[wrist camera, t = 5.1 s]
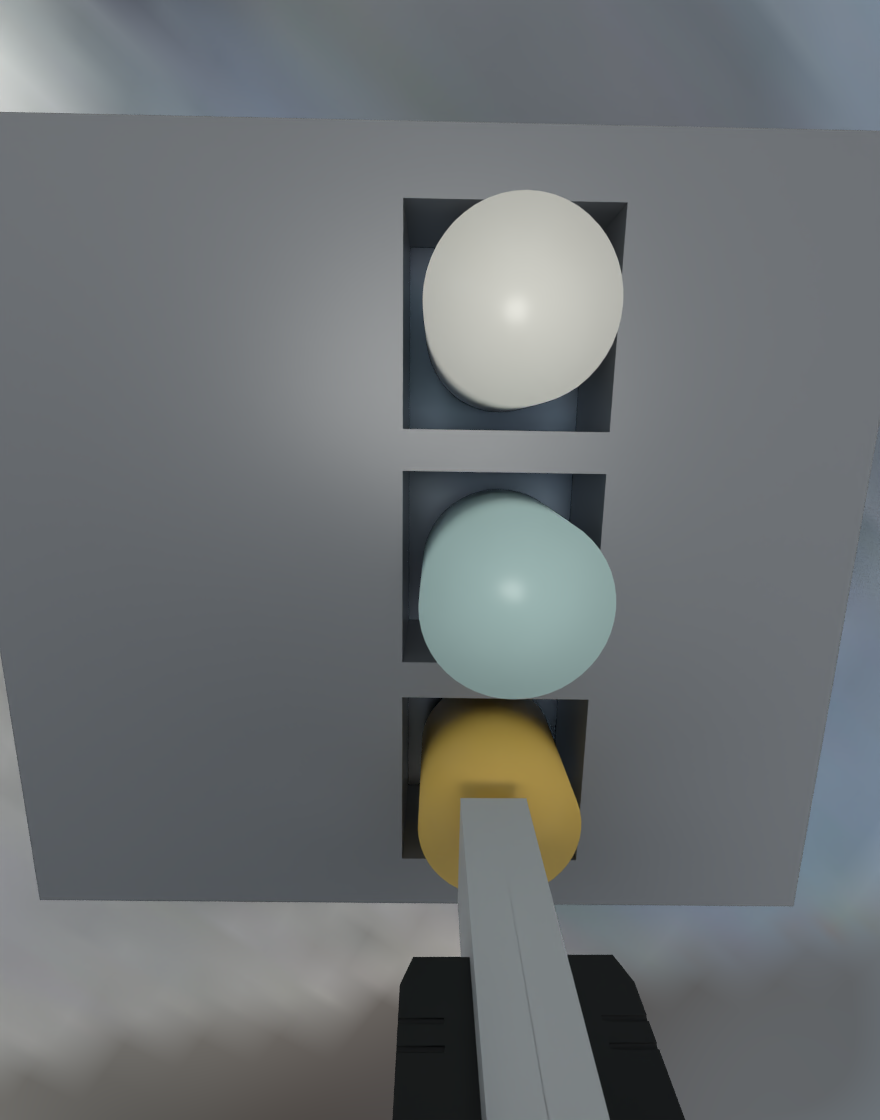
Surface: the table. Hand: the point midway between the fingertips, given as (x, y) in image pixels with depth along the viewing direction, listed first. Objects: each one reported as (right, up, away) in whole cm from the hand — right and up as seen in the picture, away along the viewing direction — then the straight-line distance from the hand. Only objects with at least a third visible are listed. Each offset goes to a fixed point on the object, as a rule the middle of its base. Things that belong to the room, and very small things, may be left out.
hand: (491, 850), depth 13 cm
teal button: (0, +7, +2) cm, 7 cm away
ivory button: (0, +13, +2) cm, 13 cm away
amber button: (0, +1, +5) cm, 5 cm away
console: (-2, +7, +5) cm, 9 cm away
